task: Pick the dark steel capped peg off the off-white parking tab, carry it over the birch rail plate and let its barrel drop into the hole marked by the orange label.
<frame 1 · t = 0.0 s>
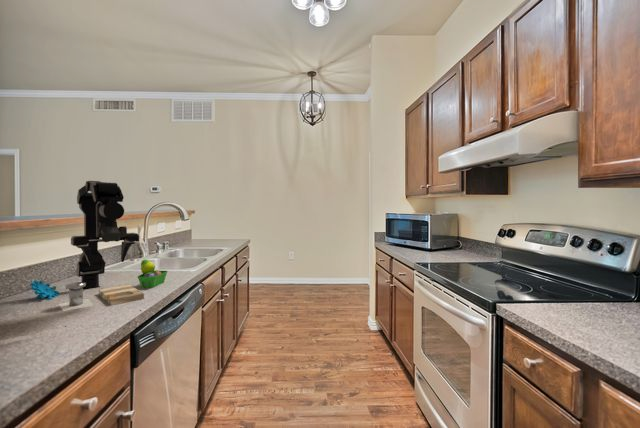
hand: (107, 263, 105), 15 cm above the counter, tool pointing down, fingers open, 9 cm apart
blue spiky lump: (46, 301, 110), on the counter
fruit basket: (151, 285, 132), on the counter
rail plate: (120, 299, 112), on the counter
parking tab: (76, 308, 102), on the counter
peg: (76, 304, 102), point 1 cm above the counter, touching parking tab
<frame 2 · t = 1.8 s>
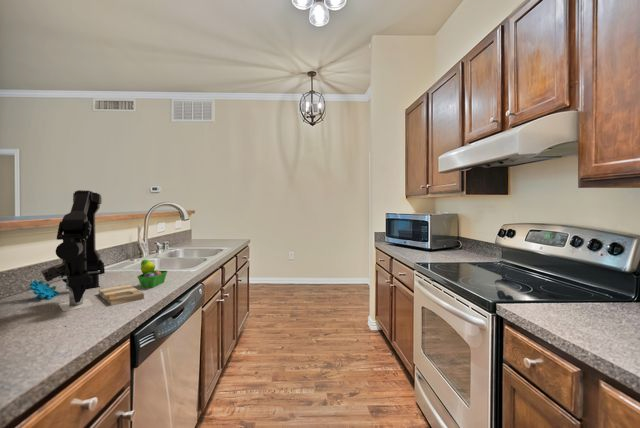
hand: (76, 300, 102), 2 cm above the counter, tool pointing down, fingers closed on peg, 4 cm apart
peg: (76, 304, 102), point 1 cm above the counter, touching gripper, parking tab
everything else where it was.
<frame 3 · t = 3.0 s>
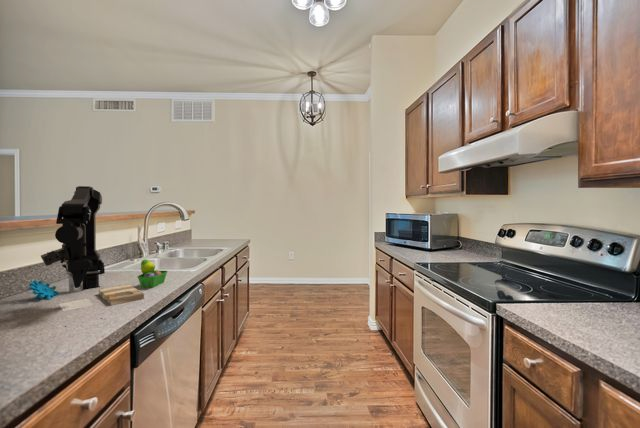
hand: (75, 286, 102), 7 cm above the counter, tool pointing down, fingers closed on peg, 4 cm apart
peg: (75, 290, 102), point 6 cm above the counter, touching gripper
everything else where it was.
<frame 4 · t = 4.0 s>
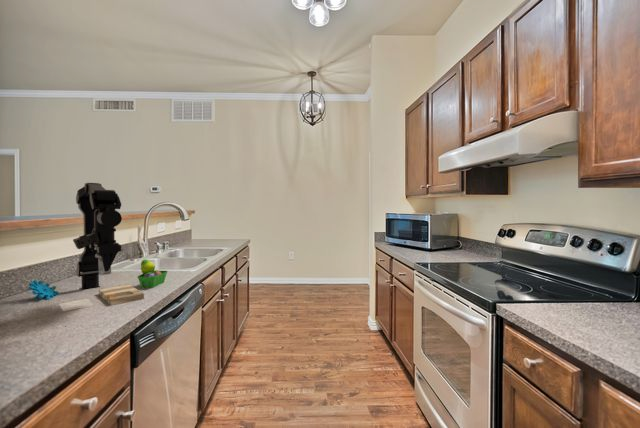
hand: (105, 270, 106), 12 cm above the counter, tool pointing down, fingers closed on peg, 4 cm apart
peg: (104, 273, 106), point 11 cm above the counter, touching gripper
everything else where it was.
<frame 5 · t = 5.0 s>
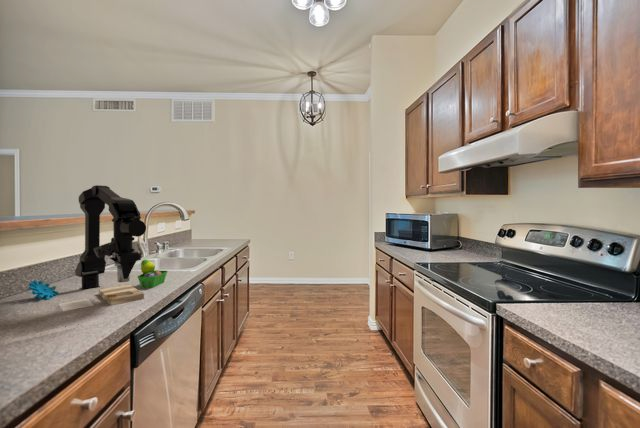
hand: (123, 277, 109), 9 cm above the counter, tool pointing down, fingers closed on peg, 4 cm apart
peg: (123, 281, 109), point 8 cm above the counter, touching gripper
everything else where it was.
when the fingers open (6 cm above the counter, at t = 5.8 s): peg drops 4 cm, resting in rail plate.
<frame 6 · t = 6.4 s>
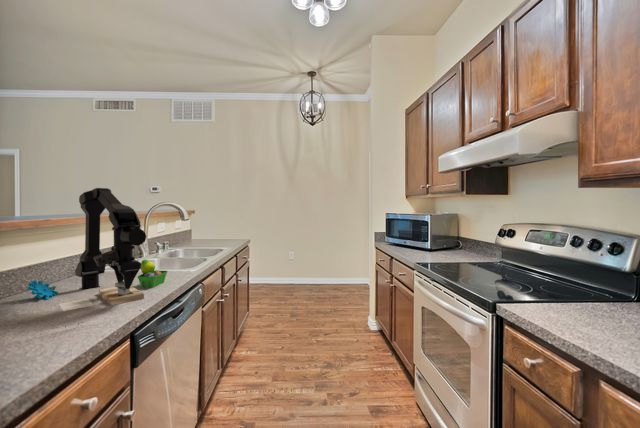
hand: (123, 286, 109), 6 cm above the counter, tool pointing down, fingers open, 9 cm apart
peg: (123, 302, 109), resting in rail plate
everything else where it was.
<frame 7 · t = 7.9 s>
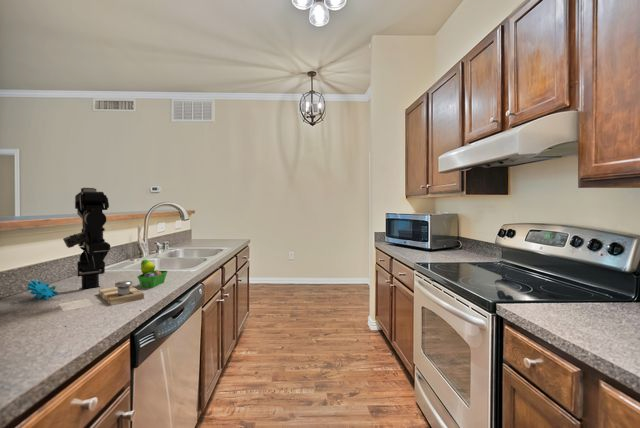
hand: (94, 267, 112), 12 cm above the counter, tool pointing down, fingers open, 9 cm apart
nothing on the counter moved.
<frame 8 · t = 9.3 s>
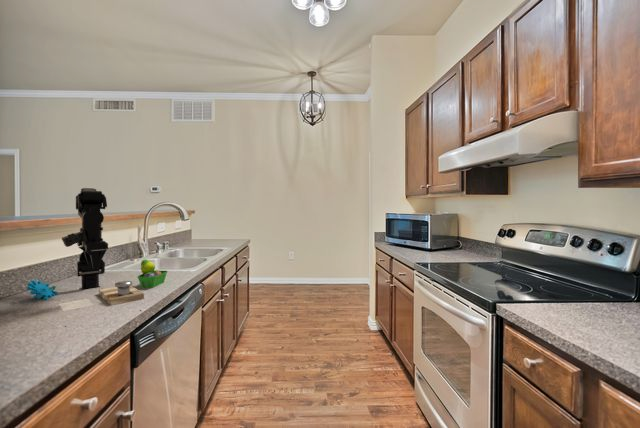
hand: (92, 266, 112), 12 cm above the counter, tool pointing down, fingers open, 9 cm apart
nothing on the counter moved.
at the end: peg 0.0 cm from the target spot on the rail plate, point 0.0 cm above the rail plate's base; peg tilted 0°; the gripper is holding nothing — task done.
